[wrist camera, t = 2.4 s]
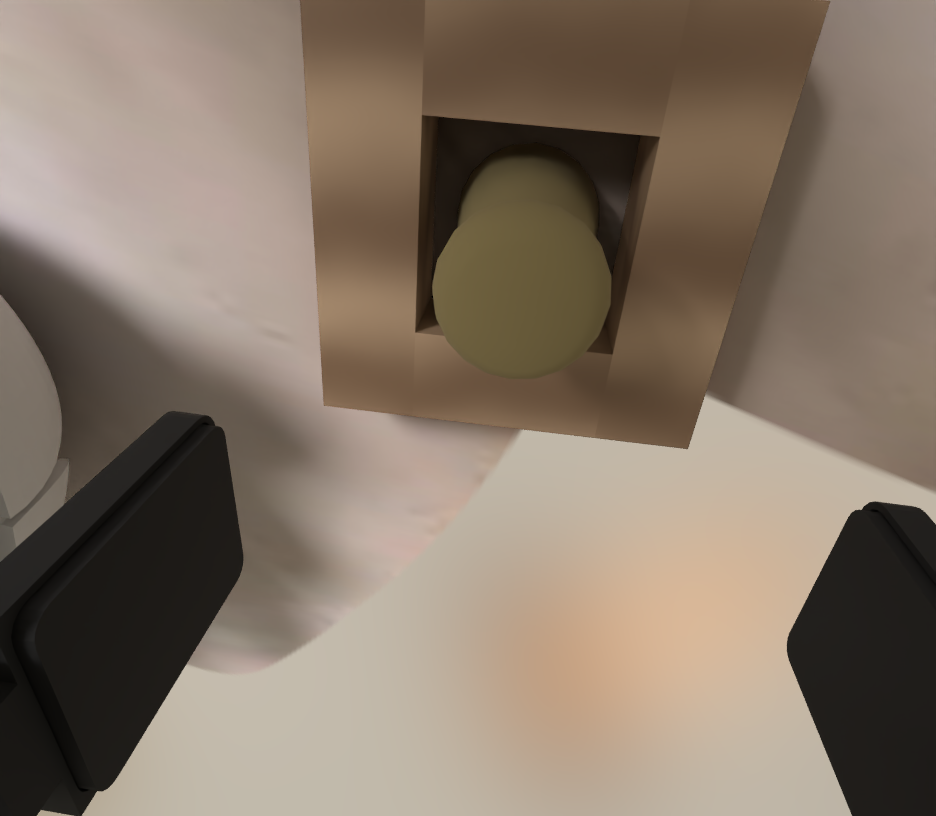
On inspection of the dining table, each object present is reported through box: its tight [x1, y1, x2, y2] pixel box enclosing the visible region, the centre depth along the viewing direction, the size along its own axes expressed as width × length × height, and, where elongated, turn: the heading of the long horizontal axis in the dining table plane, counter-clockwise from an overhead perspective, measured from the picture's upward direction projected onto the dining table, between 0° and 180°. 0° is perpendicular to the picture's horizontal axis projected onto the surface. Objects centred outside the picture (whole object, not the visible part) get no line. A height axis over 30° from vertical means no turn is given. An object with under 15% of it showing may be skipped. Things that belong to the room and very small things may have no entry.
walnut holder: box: [300, 0, 830, 449], centre depth 24 cm, size 16×16×4 cm
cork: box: [432, 143, 612, 379], centre depth 21 cm, size 6×6×11 cm
